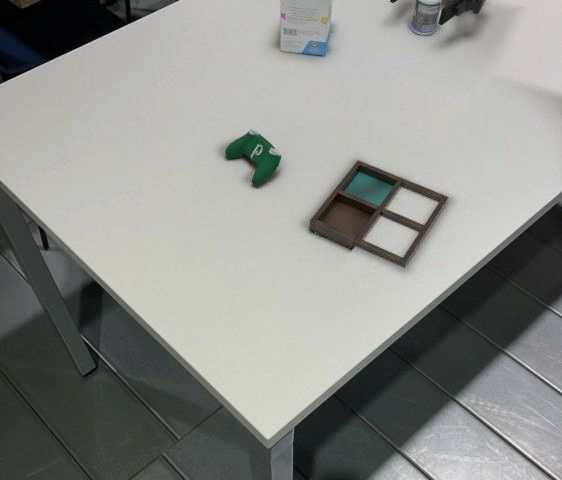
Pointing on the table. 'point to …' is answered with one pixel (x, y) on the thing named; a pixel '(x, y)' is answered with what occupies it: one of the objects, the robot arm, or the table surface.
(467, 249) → the table surface
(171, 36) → the table surface
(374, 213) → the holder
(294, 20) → the ink box
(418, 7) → the pill bottle
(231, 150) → the gaming controller
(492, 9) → the table surface
